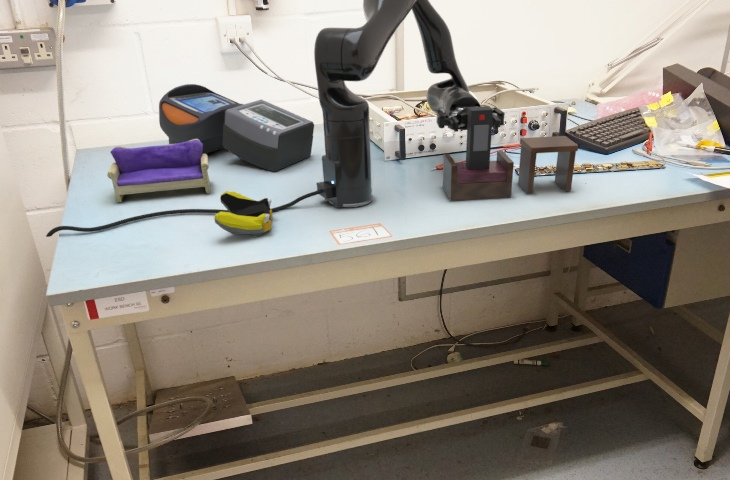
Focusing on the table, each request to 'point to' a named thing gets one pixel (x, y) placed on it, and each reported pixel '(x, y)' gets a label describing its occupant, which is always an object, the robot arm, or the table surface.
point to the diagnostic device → (236, 127)
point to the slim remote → (479, 137)
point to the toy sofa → (159, 168)
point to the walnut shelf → (547, 145)
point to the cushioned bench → (476, 187)
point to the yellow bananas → (244, 214)
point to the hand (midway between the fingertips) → (477, 125)
